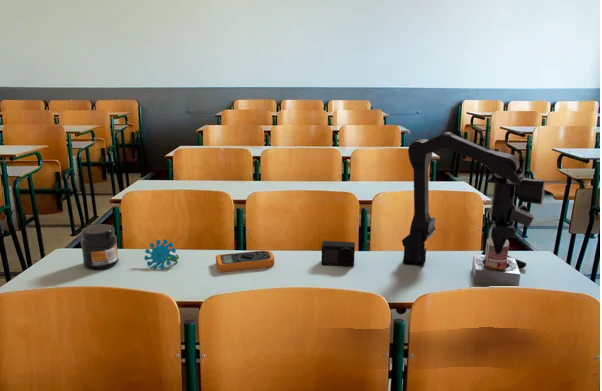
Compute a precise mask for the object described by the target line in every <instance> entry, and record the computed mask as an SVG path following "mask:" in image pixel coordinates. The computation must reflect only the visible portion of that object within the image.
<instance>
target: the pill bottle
mask: <svg viewBox="0 0 602 391" xmlns="http://www.w3.org/2000/svg"><path fill="white" fill-rule="evenodd" d="M490 231H491V229H490V230H489V232H488V238H487V239H486V242H485V249H486V252H485V261H484V265H486V266H487V267H491V268H495V269H505V268H506V264H507V256H509V249H510V248H509V246H510V242H509V240H508V239H507V240H506V242H505V244H504V246H503V248H502V251H501V253H500V254H496V251H495V248H494V244H493V241H492V237H491V234H490Z"/></svg>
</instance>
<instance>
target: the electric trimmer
mask: <svg viewBox="0 0 602 391" xmlns="http://www.w3.org/2000/svg"><path fill="white" fill-rule="evenodd" d="M485 252H486V248H485V249H484V250H483V251H482V253H481V254H480V255H485ZM507 257H509V258H513V257H512V256H510V255H508V256H507ZM515 260H516V263H517V266H518V269H519V270H521V269H524V268H526V266H527V263H526V262H524V261H522V260H519V259H517V258H515Z"/></svg>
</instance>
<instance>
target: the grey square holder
mask: <svg viewBox="0 0 602 391" xmlns="http://www.w3.org/2000/svg"><path fill="white" fill-rule="evenodd" d="M472 254H473V255H472V263H471V264H472V266H471V270H472V271H471V272H472V279H473V286H479V287H485V286H519V287H520V280H521V272H520V269H519V268H518V266H517V263H516V260H515V259H516V257H512V258H509V257H507V264H506V268H505V269H495V268H491V267H487V266H486V265H484V261H485V255H481V254H477V253H475V254H474V253H472Z"/></svg>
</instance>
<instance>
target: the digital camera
mask: <svg viewBox="0 0 602 391" xmlns="http://www.w3.org/2000/svg"><path fill="white" fill-rule="evenodd" d="M355 246H356V243H355V242H353V241H352V242H351V241H336V240H335V241H334V240H332V241H331V240H322V243H321V266H323V267H324V266H325V267H326V266H327V267H341V266H342V267H345V268H355V254H356V253H355V250H356V249H355V248H356V247H355ZM342 267H341V268H342Z"/></svg>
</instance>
